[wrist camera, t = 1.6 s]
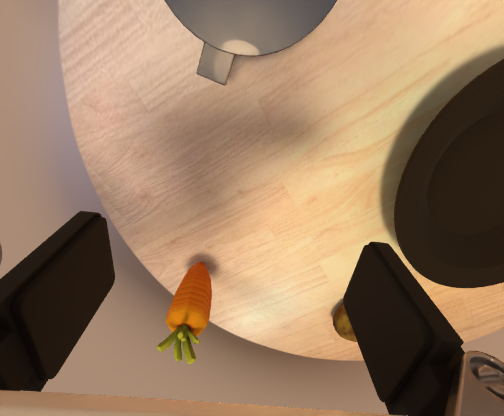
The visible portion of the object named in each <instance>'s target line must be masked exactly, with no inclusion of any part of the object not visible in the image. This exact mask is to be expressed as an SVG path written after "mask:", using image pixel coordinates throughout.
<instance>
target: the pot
mask: <svg viewBox="0 0 504 416" xmlns="http://www.w3.org/2000/svg"><path fill="white" fill-rule="evenodd" d="M234 57H235V54H230V53H227V52H224V51H221V50H218V49H216V48H214V47H212V46H210V45H209V44H207V43H205V42H204V46H203V50H202V54H201V58H200V62H199V65H198V69H197V74H198V75H201V76H203V77H205V78H208V79H210V80H213V81H215V82H218V83H220V84H222V85H226V84H227V80H228V77H229V74H230V70H231V67H232V64H233V61H234Z"/></svg>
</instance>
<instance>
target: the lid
mask: <svg viewBox="0 0 504 416" xmlns="http://www.w3.org/2000/svg"><path fill="white" fill-rule="evenodd" d="M336 1H337V0H165V2H166V3H167V5H168V6H169V8H170V9H171V11H172V12H173V13H174V15H175V16H176V17H177V18H178V19H179V20H180V22H181V23H182V24H183V25H184V26H185V27H186V28H187V29H188V30H189V31H191V32H192V33H193V34H194V35H195V36H196V37H198V38H199V39H201V40H202V41H204V42H205V43H207V44H209V45H210V46H212V47H214V48H216V49H218V50H221V51H224V52H227V53H230V54H235V55H240V56H262V55H268V54H272V53H276V52H279V51H281V50H283V49H286V48H288V47H290V46H292V45H293V44H295V43H297V42H299V41H300V40H302V39H303V38H304V37H305V36H307V35H308V34H309V33H311V32H312V31H313V30H314V29H315V28H316V27H317V26H318V25H319V24H320V23H321V22H322V21H323V19H324V18H325V17H326V16H327V14H328V13H329V12H330V11H331V9H332V8H333V6H334V5H335V3H336Z"/></svg>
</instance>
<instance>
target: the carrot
mask: <svg viewBox="0 0 504 416" xmlns="http://www.w3.org/2000/svg"><path fill="white" fill-rule="evenodd" d="M211 298H212V290H211V279H210V276H209V273H208V270H207V268H206V266H205V264H204V263H202V262H199V263H197V264H195V265H194V266H192V267H191V268H190V269H189V270H188V272H187V274H186V275H185V277H184V279H183V280H182V282H181V284H180V286H179V287H178V289H177V291H176V293H175V295H174V298H173V300H172V303H171V305H170V308H169V311H168V314H167V316H166V323H167V325H168V327H169V328H170V329H171V331H172V334H171V335H170V336H169V337H167V338H166V339H165V340H164V341H163V342H162V343H160V344H159V345H158V346H157V348H158V350H159V351H161V352H162V351H164V350H166V349H167V348H168V347H169V346H170V345H171V344H172V343H173V341H174V340H175V339H176V340H175V344H174V357H175V360H177V361H181V360H182V353H181V341H182V343H183V350H184V354H185V358H186V361H187V363H188V364H192V363H193V362H195V360H196V356H195V353H194V351H193V348H192V345H191V342H190V339H191V340H192V342H193V343H194V344H198V343H199V342H200V341H199V340H198V339H197V337H196V336H198V335H200V334H201V333H202V331H203V330H204V329H205V327H206V326H207V324H208V321H209V316H210V308H211Z"/></svg>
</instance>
